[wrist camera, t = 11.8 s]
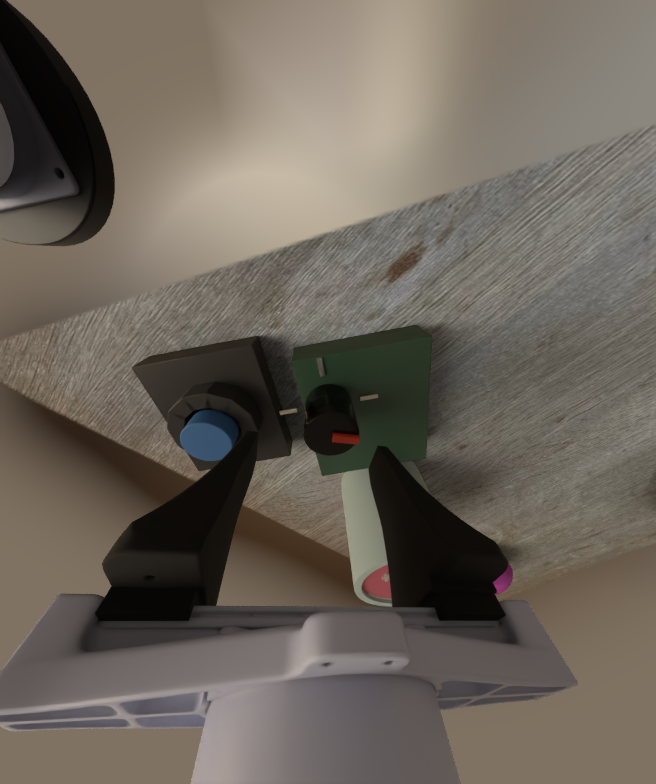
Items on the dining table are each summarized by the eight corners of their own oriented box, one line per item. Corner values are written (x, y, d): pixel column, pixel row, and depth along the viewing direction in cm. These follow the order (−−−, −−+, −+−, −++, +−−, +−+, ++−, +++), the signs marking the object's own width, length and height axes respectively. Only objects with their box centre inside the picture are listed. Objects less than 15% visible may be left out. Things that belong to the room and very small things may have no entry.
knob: (302, 419, 19) (300, 456, 15) (308, 380, 17) (307, 412, 14) (345, 424, 19) (353, 461, 16) (356, 386, 18) (366, 419, 14)
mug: (325, 479, 27) (331, 583, 18) (395, 439, 25) (440, 538, 16) (384, 529, 33) (410, 626, 24) (445, 501, 30) (498, 598, 22)
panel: (271, 351, 19) (264, 367, 16) (415, 324, 19) (433, 336, 16) (303, 456, 25) (302, 480, 22) (414, 437, 25) (426, 460, 22)
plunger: (181, 413, 17) (169, 428, 16) (228, 404, 17) (220, 418, 16) (202, 448, 19) (193, 464, 18) (245, 441, 19) (239, 457, 18)
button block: (149, 356, 19) (112, 378, 15) (258, 335, 18) (245, 353, 15) (207, 454, 24) (190, 487, 21) (292, 440, 24) (289, 470, 20)
